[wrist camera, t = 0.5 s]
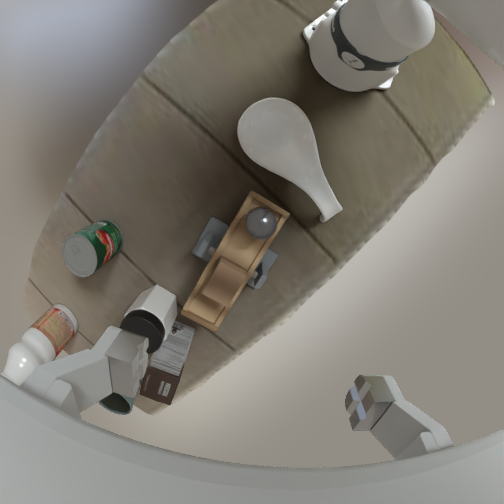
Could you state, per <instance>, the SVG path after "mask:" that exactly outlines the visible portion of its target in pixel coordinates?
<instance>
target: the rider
mask: <svg viewBox="0 0 504 504" xmlns="http://www.w3.org/2000/svg"><path fill="white" fill-rule="evenodd" d="M246 277H247V275H246V269H245V268H243V267H242V266H240V265H238V264H236V263H235V262H233V261H231V260H229V259H228V258H226V257H224V256H221V257H220V259H219V261H218V262H217V264H216V266H215V268H214V269H213V271H212V273H211V274H210V276H209V278H208V280H207V281H206V283H205V285H204V288H203V291H202V294H203V295H205V296H207V297H209V298H211V299H213V300H214V301H216V302H218V303H220V304H222V305H224V306H226V307H228V305H229V304H230V302H231V301H232V299H233V297H234V296H235V294H236V293H237V291H238V289H239V288H240V286H241V285H242V283H243V281H244V280H245V278H246Z"/></svg>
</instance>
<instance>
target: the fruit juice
mask: <svg viewBox="0 0 504 504" xmlns="http://www.w3.org/2000/svg"><path fill="white" fill-rule="evenodd" d="M77 329H78V323H77V320H76V318H75V316H74V314H73V313H72V312H71V311H70V310H69V309H68V308H67V307H66V306H64V305H61V304H56V305H54V306H52V307H51V308H50V309H49V310H48V311H47V312H45V313H44V314H43V315H42V316H41V317H40V318H39V319H38V320H37V321H36V322H35V323H34V324H33V325H32V326H31V327H30V328H28V329H27V330H26V331H25V333H24V334H23V335H22V337H21V340H20V341H19V342H17V343H15V344H13V345H12V347H11V348H10V350H9V353H8V359H7V363H6V366H5V369H4V371H3V373H0V374H1V375H3V376H4V377H6V378H7V379H9V380H10V381H12V382H13V383H15V384H16V385H18V386H21V385H22V384H23V383H24V381H25V380H26V379H27V378H28V376H29V375H30V374H31V373H32V372H33V370H34V369H35V368H36V367H37V366H39V365H42V364H45V363H48V362H51V361H54V359H55V358H56V356H57V355H58V354H59V353H60V352H61V350H62V349H63V348H64V347H65V346H66V344H67V343H68V342H69V341H70V340H71V338H72V337H73V336H74V335H75V334H76V332H77Z"/></svg>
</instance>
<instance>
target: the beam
mask: <svg viewBox="0 0 504 504" xmlns="http://www.w3.org/2000/svg"><path fill="white" fill-rule="evenodd" d="M255 207H264V208H266V209H268V210H269V211H270V212H271V213H272V214H273V215H274V216H275V218H276V220H277V229H276V231H275V233H274V234H273V235H272V236H271V237H270V238H268V239H264V240H259V239H256V238H254V237H252V236H251V235H250V234H249V232H248V230H247V227H246V215H247V213H248V212H249V211H250V210H251V209H253V208H255ZM289 215H290V213H288V212H287V211H285V210H283V209H282V208H280V207H278V206H277V205H275V204H274V203H272V202H270V201H269V200H267V199H265V198H264V197H262V196H260V195H259V194H257V193H255V192H254V191H252V190H251V191H250V193H249V195H248V196H247V198H246V200H245V201H244V203H243V205H242V206H241V208H240V210H239V211H238V213H237V215H236V216H235V218H234V220H233V221H232V223H231V225H230V226H229V228H228V230H227V231H226V233H225V235H224V237H223V238H222V240H221V242H220V243H219V245H218V247H217V249H215V248H214V247H212V246H210V248H209V250H208V251H207V254H209V255H211V256H212V257H211V259H210V261H209V262H208V264H207V266H206V268H205V269H204V271H203V273H202V275H201V276H200V278H199V280H198V282H197V283H196V285H195V287H194V289H193V290H192V292H191V294H190V296H189V298H188V299H187V301H186V303H185V305H184V307H183V309H182V311H181V314H182V315H183V316H185V317H187V318H189V319H191V320H193V321H195V322H197V323H198V324H200V325H202V326H204V327H206V328H208V329H210V330H212V331H214V332H216V331H217V330H218V327H219V325H220V324H221V322H222V320H223V319H224V317H225V316H226V314H227V313H228V311H229V309H230V308H231V306H232V305H233V303H234V302H235V300H236V298H237V297H238V295H239V294H240V292H241V291H242V289H243V287H244V286H245V284H246V283H247V281H248V279H249V278H252V279H253V280H254V279H255V278H256V277H257V275H258V272H256V271H254V270H255V268H256V267H257V265H258V264H259V262H260V260H261V259H262V257H263V256H264V254H265V252H266V251H267V249H268V248H269V246H270V244H271V243H272V241H273V240H274V238H275V236H276V235H277V233H278V231H279V230H280V228H281V227H282V225H283V223H284V222H285V220H286V219H287V218H288V217H289ZM221 256H224V257H226V258H228V259H229V260H231V261H233V262H235V263H236V264H238V265H240V266H242V267H243V268H245V269H246V275H247V277H246V278H245V280H244V281H243V283H242V285H241V286H240V288H239V289H238V291H237V293H236V294H235V296H234V297H233V299H232V301H231V302H230V304H229V305H228V307H226V306H224V305H222V304H220V303H218V302H216V301H214V300H213V299H211V298H209V297H207V296H205V295H203V294H202V291H203V288H204V285H205V283H206V281H207V280H208V278H209V276H210V274H211V273H212V271H213V269H214V268H215V266H216V264H217V262H218V261H219V259H220V257H221Z"/></svg>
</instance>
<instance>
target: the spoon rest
mask: <svg viewBox="0 0 504 504" xmlns="http://www.w3.org/2000/svg"><path fill="white" fill-rule="evenodd" d="M237 134H238V139H239V142H240V145H241V147H242V149H243V151H244V152H245V153H246V154H247V155H248V157H250V158H251V159H252V160H253V161H254V162H256V163H257V164H259V165H260V166H262V167H263V168H265V169H267V170H269V171H271V172H273V173H275V174H277V175H279V176H281V177H283V178H285V179H287V180H289V181H291V182H292V183H294V184H296V185H297V186H298V187H300V188H301V189H302V190H304V191H305V192H306V193H307V194H308V195H309V196H310V197H311V199H312V200H313V201H314V202H315V204H316V205H317V206H318V208H319V209H320V211H321V213H322V214H321V215H320V221H321V222H326V221H327V220H328V219H330V218H331V217H332V216H334V215H335V214H337V213H338V212H340V211H342V209H343V208H342V206H341V205H340V204H339V203H338V201H337V199H336V197H335V195H334V193H333V191H332V189H331V187H330V186H329V184H328V182H327V179H326V177H325V175H324V173H323V170H322V167H321V164H320V159H319V154H318V149H317V144H316V140H315V136H314V132H313V129H312V126H311V124H310V122H309V120H308V118H307V116H306V115H305V113H304V112H303V111H302V109H301V108H300V107H298V106H297V105H296V104H294V103H293V102H291V101H289V100H286V99H282V98H266V99H262V100H260V101H257V102H256V103H254V104H252V105H251V106H250V107H248V108H247V109H246V110H245V112H244V113H243V114H242V116H241V118H240V120H239V122H238V127H237Z"/></svg>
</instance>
